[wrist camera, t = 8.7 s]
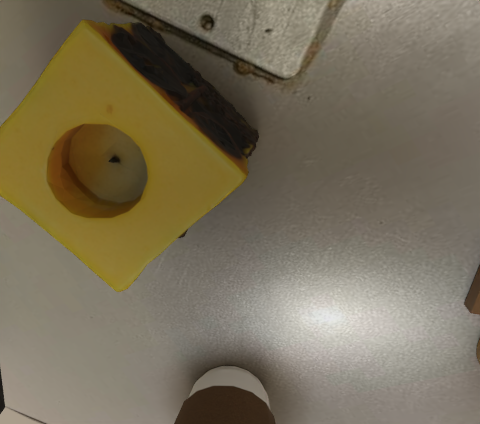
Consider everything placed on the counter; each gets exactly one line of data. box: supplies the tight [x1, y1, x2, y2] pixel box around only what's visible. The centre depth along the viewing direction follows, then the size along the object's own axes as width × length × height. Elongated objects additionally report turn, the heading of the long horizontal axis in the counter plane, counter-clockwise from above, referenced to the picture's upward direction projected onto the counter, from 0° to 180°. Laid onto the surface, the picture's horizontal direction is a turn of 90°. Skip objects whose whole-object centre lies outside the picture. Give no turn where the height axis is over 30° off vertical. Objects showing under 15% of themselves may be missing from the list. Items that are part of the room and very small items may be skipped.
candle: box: [0, 20, 259, 292], centre depth 25 cm, size 10×10×10 cm
